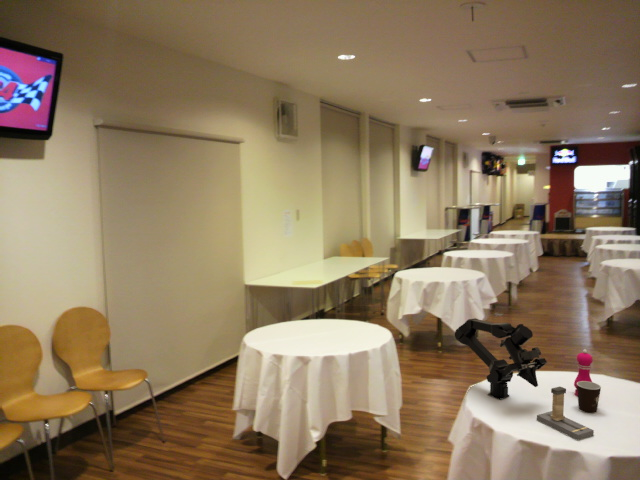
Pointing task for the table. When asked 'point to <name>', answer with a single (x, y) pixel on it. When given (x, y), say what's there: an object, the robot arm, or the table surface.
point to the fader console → (566, 426)
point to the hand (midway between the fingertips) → (536, 386)
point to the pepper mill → (583, 368)
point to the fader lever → (558, 403)
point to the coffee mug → (588, 396)
